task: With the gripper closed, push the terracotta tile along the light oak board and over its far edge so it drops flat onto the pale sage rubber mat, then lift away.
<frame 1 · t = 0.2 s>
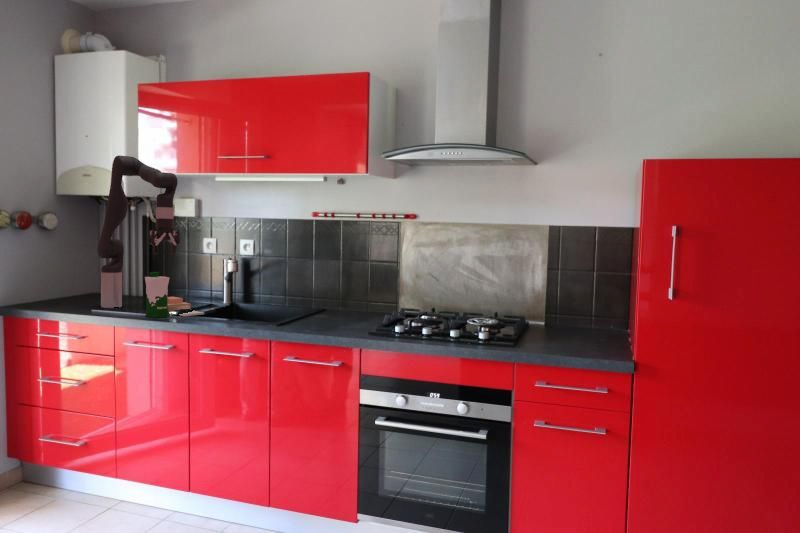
hand: (164, 253, 296), 29 cm above the worktop, tool pointing down, fingers open, 8 cm apart
mat: (186, 314, 310), on the worktop
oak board: (172, 311, 317), on the worktop
tile: (172, 303, 317), point 4 cm above the worktop, touching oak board
milk carton: (157, 316, 300), on the worktop
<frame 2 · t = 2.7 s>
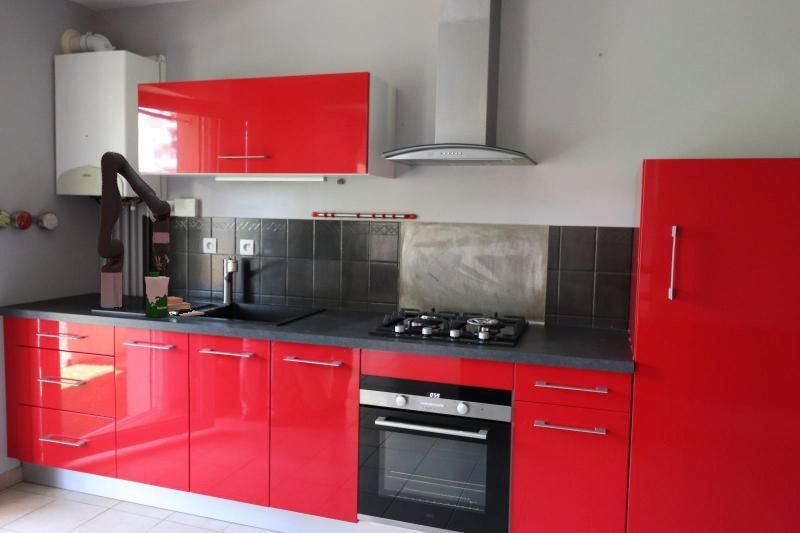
hand: (161, 277, 322), 16 cm above the worktop, tool pointing down, fingers closed
nothing on the worktop moved.
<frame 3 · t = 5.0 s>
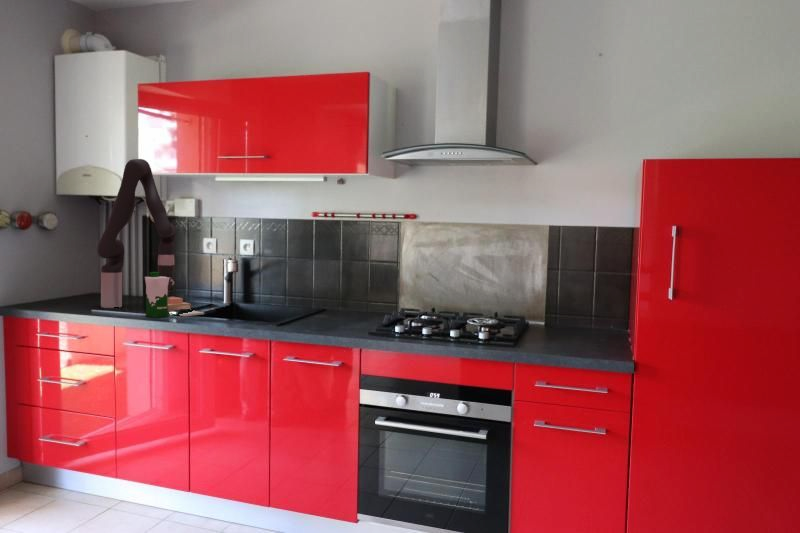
hand: (166, 299, 320), 5 cm above the worktop, tool pointing down, fingers closed
tile: (172, 303, 317), point 4 cm above the worktop, touching gripper, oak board
everything else where it was.
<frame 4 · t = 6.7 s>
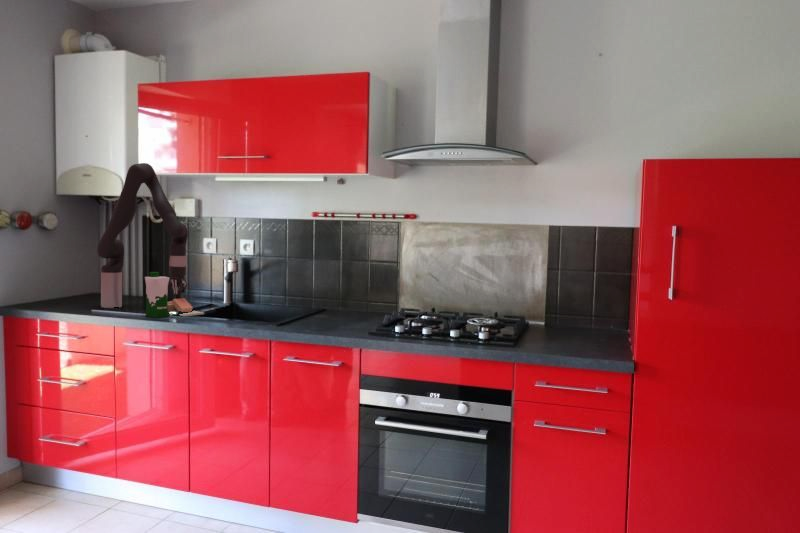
hand: (177, 301, 314), 5 cm above the worktop, tool pointing down, fingers closed
tile: (181, 307, 311), point 3 cm above the worktop, tilted 29°, touching gripper
everything else where it was.
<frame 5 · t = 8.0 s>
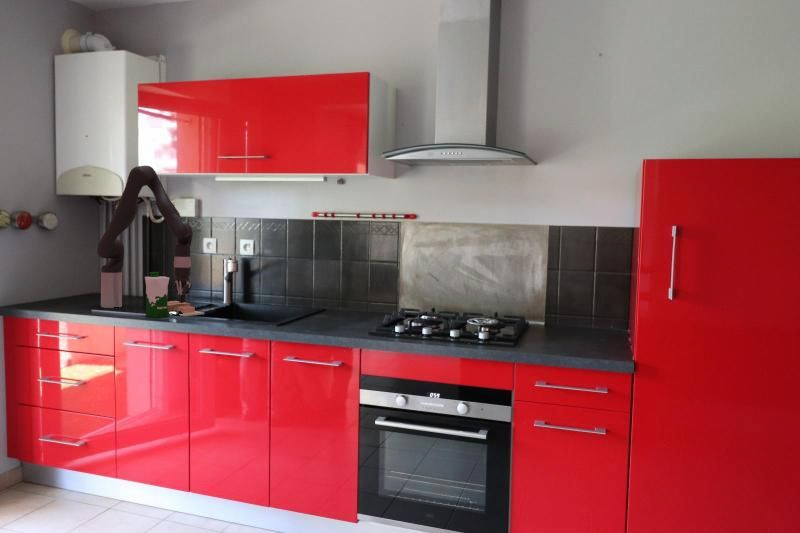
hand: (182, 302, 312), 5 cm above the worktop, tool pointing down, fingers closed
tile: (183, 312, 311), point 1 cm above the worktop, touching mat
everything else where it was.
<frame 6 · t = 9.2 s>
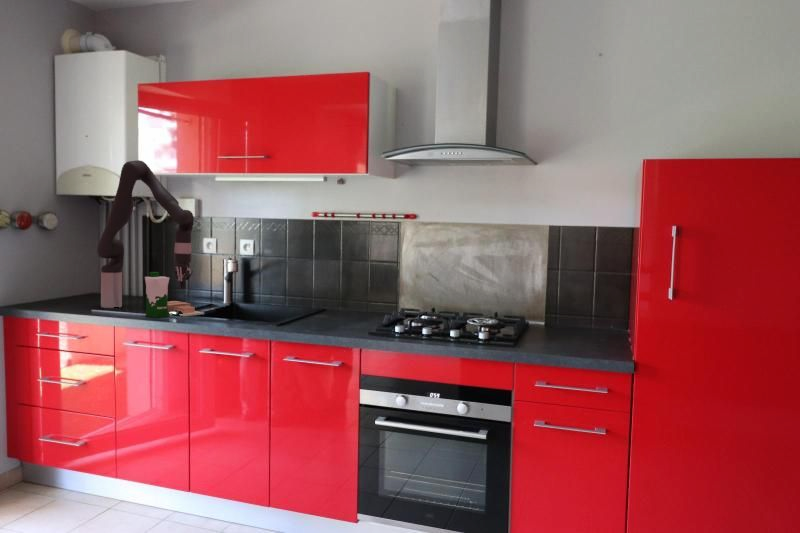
hand: (182, 288, 312), 12 cm above the worktop, tool pointing down, fingers closed
nothing on the worktop moved.
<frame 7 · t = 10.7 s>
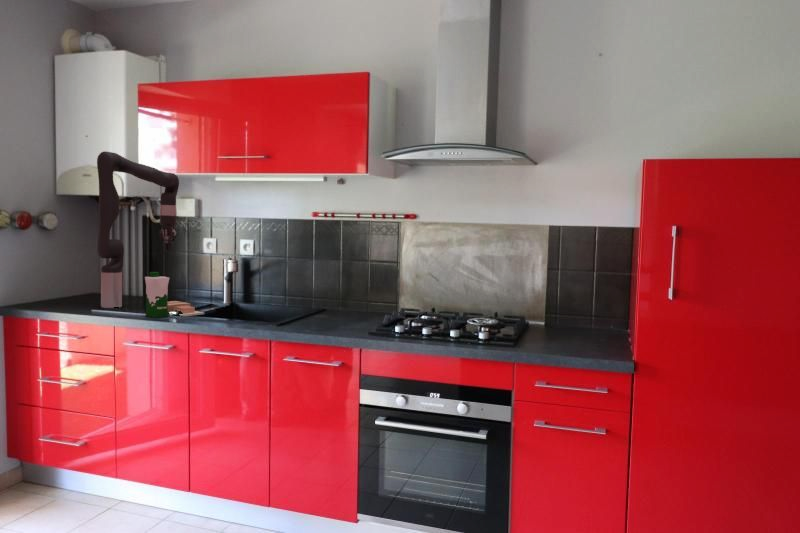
hand: (167, 250, 318), 29 cm above the worktop, tool pointing down, fingers closed
nothing on the worktop moved.
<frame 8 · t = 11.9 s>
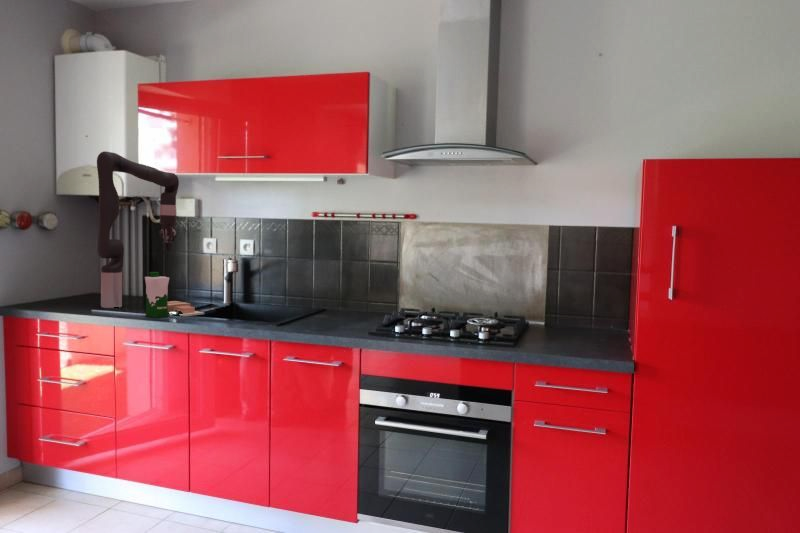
hand: (167, 250, 318), 29 cm above the worktop, tool pointing down, fingers closed
nothing on the worktop moved.
at the end: tile inside the target area (1.8 cm from its centre), point 0.8 cm above the worktop; tile tilted 0° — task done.
